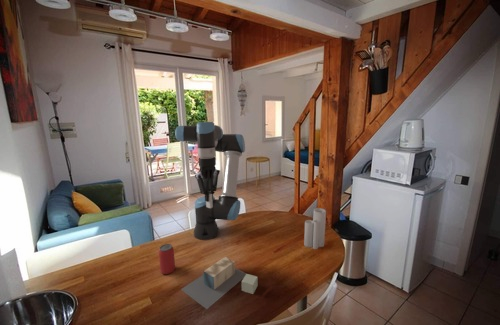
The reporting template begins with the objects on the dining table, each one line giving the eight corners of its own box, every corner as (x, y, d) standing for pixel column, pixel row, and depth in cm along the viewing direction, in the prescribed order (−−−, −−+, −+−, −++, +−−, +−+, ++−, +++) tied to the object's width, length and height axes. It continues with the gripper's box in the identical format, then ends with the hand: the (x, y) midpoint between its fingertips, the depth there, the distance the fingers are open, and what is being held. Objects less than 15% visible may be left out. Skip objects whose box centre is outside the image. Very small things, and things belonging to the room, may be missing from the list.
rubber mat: (181, 290, 94) (180, 289, 94) (222, 262, 112) (222, 260, 112) (206, 310, 84) (206, 309, 84) (247, 275, 103) (247, 274, 102)
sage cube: (241, 292, 93) (241, 281, 92) (246, 283, 98) (246, 273, 97) (253, 295, 91) (252, 284, 90) (257, 287, 96) (257, 276, 95)
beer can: (178, 267, 109) (176, 244, 106) (169, 276, 103) (166, 252, 100) (166, 264, 111) (164, 242, 109) (157, 273, 105) (154, 249, 102)
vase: (318, 239, 132) (320, 207, 128) (327, 246, 125) (329, 212, 121) (302, 243, 127) (303, 210, 124) (310, 250, 121) (311, 215, 117)
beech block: (203, 271, 96) (225, 256, 106) (204, 283, 97) (225, 268, 107) (213, 277, 92) (234, 261, 102) (213, 290, 93) (234, 273, 103)
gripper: (200, 160, 93) (203, 213, 98) (223, 155, 103) (225, 204, 108) (189, 158, 98) (192, 209, 103) (212, 154, 108) (214, 201, 113)
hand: (209, 207), depth 105 cm, fingers closed
